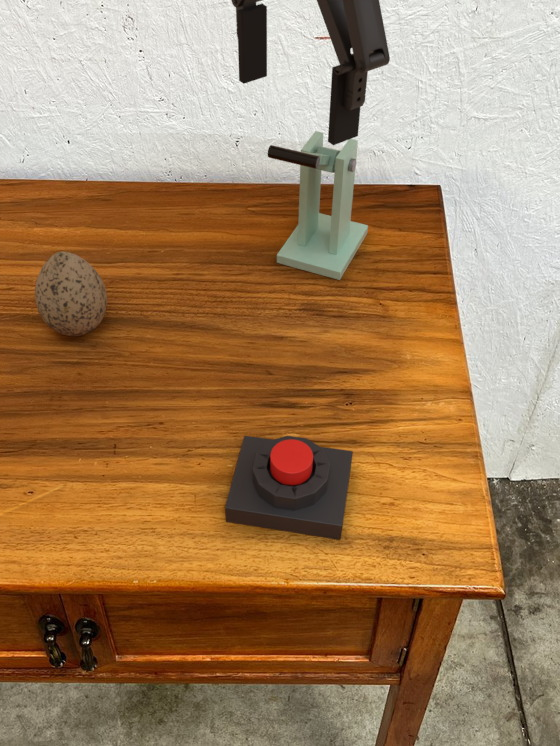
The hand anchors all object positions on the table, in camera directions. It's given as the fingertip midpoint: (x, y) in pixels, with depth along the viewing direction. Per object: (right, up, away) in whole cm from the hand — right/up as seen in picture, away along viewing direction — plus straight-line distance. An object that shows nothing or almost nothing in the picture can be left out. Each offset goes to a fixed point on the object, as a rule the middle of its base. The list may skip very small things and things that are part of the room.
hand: (295, 107), depth 70 cm
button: (0, -32, -4) cm, 32 cm away
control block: (0, -35, -1) cm, 35 cm away
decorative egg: (-23, -19, +14) cm, 33 cm away
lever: (+2, -3, +10) cm, 11 cm away
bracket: (+4, -9, +24) cm, 26 cm away
